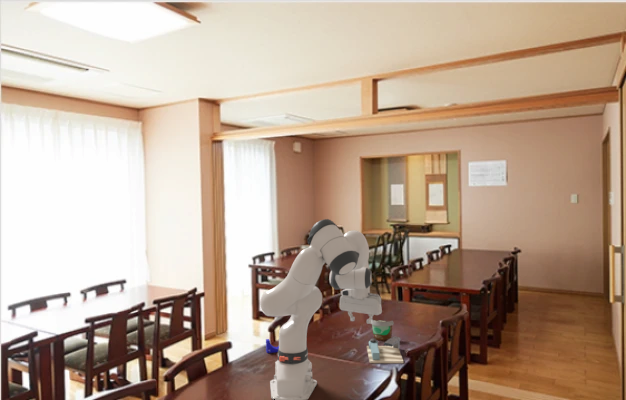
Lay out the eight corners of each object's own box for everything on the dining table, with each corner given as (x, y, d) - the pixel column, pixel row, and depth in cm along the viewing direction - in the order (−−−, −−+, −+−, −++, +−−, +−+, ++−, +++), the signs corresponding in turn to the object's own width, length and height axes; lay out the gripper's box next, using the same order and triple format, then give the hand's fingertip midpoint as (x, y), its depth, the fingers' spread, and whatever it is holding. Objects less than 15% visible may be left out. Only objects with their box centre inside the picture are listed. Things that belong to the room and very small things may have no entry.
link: (368, 346, 216) (368, 340, 215) (377, 346, 215) (377, 340, 215) (371, 359, 198) (371, 353, 198) (381, 359, 198) (381, 353, 198)
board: (403, 363, 196) (403, 351, 196) (369, 363, 197) (369, 351, 197) (397, 347, 216) (397, 337, 216) (366, 347, 217) (366, 337, 217)
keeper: (384, 354, 207) (384, 342, 207) (393, 347, 216) (393, 336, 216) (392, 356, 205) (392, 344, 205) (401, 349, 214) (401, 337, 214)
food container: (367, 340, 229) (367, 320, 229) (371, 336, 234) (371, 317, 234) (390, 343, 223) (390, 323, 223) (394, 339, 229) (393, 320, 229)
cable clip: (289, 347, 220) (289, 335, 220) (291, 350, 216) (291, 338, 216) (265, 350, 217) (265, 338, 217) (267, 353, 212) (266, 341, 212)
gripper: (383, 293, 199) (384, 323, 199) (344, 288, 210) (344, 317, 210) (378, 295, 193) (378, 327, 193) (337, 291, 204) (338, 320, 204)
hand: (360, 322), depth 202 cm, fingers open, 7 cm apart
